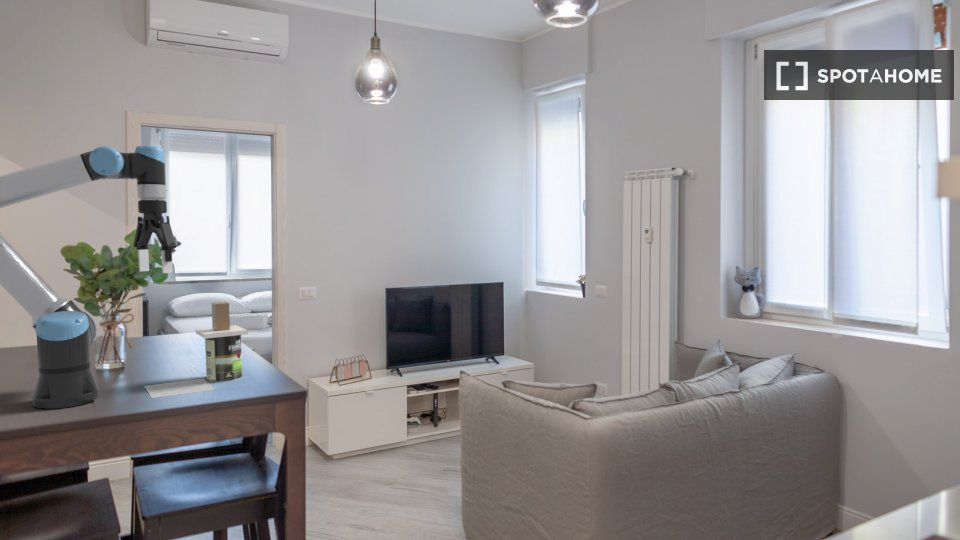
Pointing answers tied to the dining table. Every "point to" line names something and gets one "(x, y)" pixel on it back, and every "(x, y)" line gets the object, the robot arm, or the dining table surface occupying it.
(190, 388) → the mat
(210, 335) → the square plate with block
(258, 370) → the dining table surface
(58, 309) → the robot arm
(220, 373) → the coffee can
